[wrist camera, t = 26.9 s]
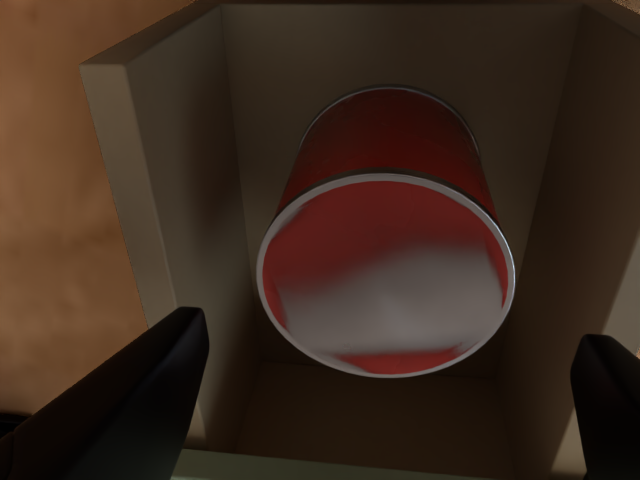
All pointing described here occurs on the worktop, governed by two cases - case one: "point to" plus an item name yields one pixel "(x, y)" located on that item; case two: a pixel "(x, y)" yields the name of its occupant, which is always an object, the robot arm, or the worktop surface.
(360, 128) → the can
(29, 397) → the worktop surface
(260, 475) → the cabinet
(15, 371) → the worktop surface
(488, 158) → the drawer
